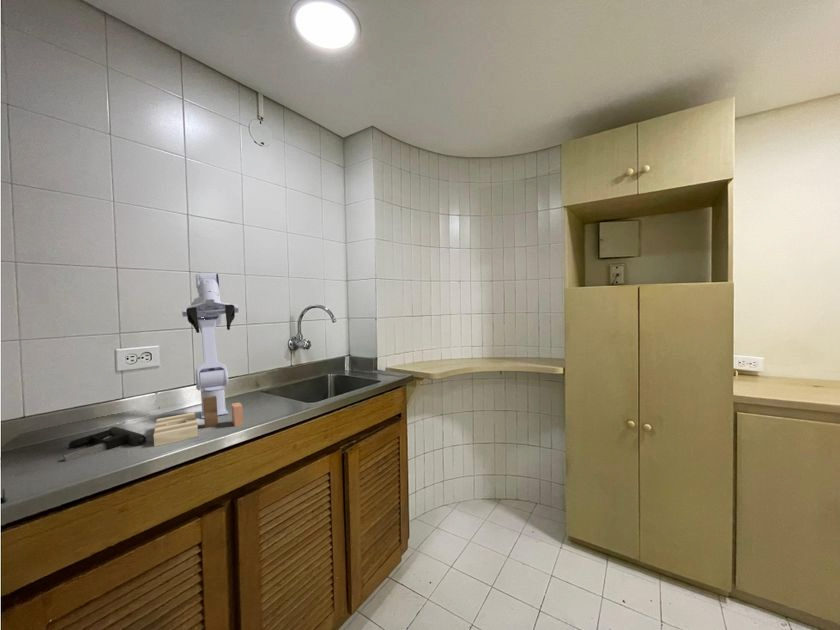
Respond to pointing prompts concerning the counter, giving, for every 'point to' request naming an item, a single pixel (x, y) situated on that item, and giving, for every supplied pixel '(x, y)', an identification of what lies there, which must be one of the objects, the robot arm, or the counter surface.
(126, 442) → the door handle
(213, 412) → the walnut peg
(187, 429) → the socket block
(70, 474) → the counter surface
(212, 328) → the robot arm
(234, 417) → the salmon brown flat block
